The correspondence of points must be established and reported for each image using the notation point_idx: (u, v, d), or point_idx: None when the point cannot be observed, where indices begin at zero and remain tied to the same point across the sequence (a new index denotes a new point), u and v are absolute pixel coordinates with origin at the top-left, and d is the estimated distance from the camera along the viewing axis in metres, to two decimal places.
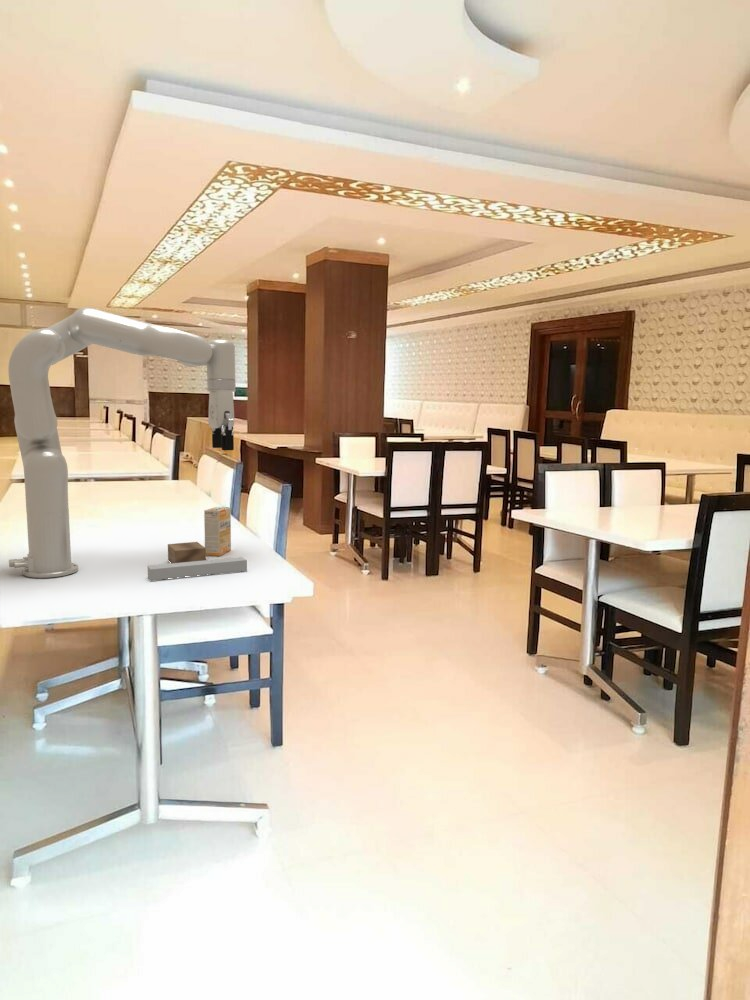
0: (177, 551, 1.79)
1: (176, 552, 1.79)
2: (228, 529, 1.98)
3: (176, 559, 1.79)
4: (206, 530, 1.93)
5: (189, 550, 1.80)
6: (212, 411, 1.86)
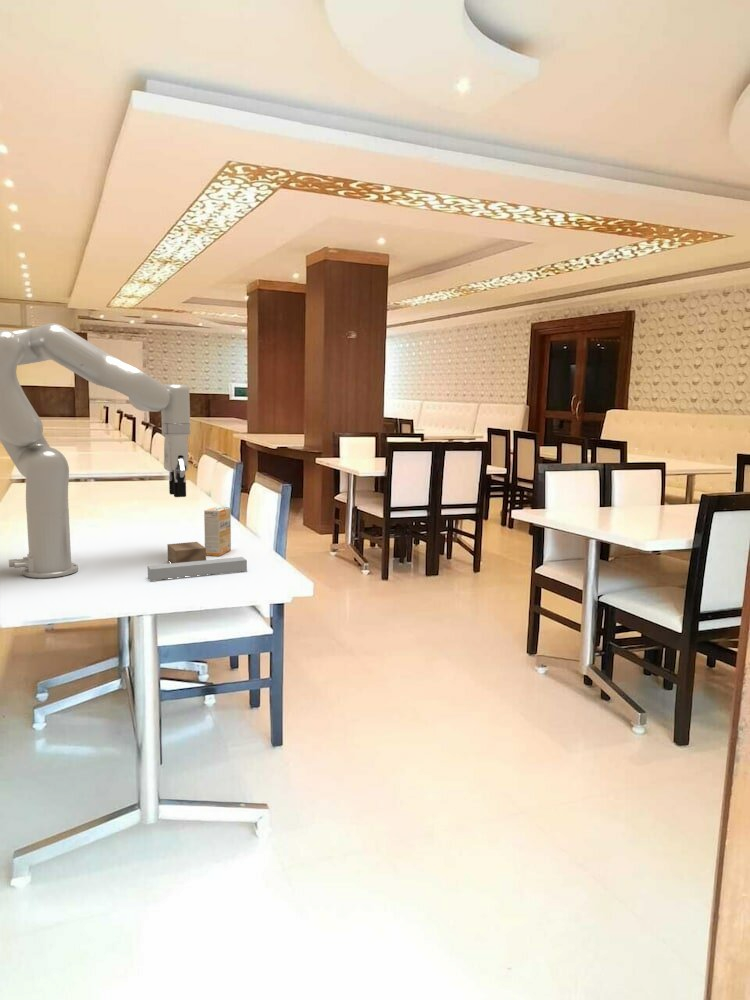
0: (177, 551, 1.79)
1: (176, 552, 1.79)
2: (228, 529, 1.98)
3: (176, 559, 1.79)
4: (206, 530, 1.93)
5: (189, 550, 1.80)
6: (166, 455, 1.87)
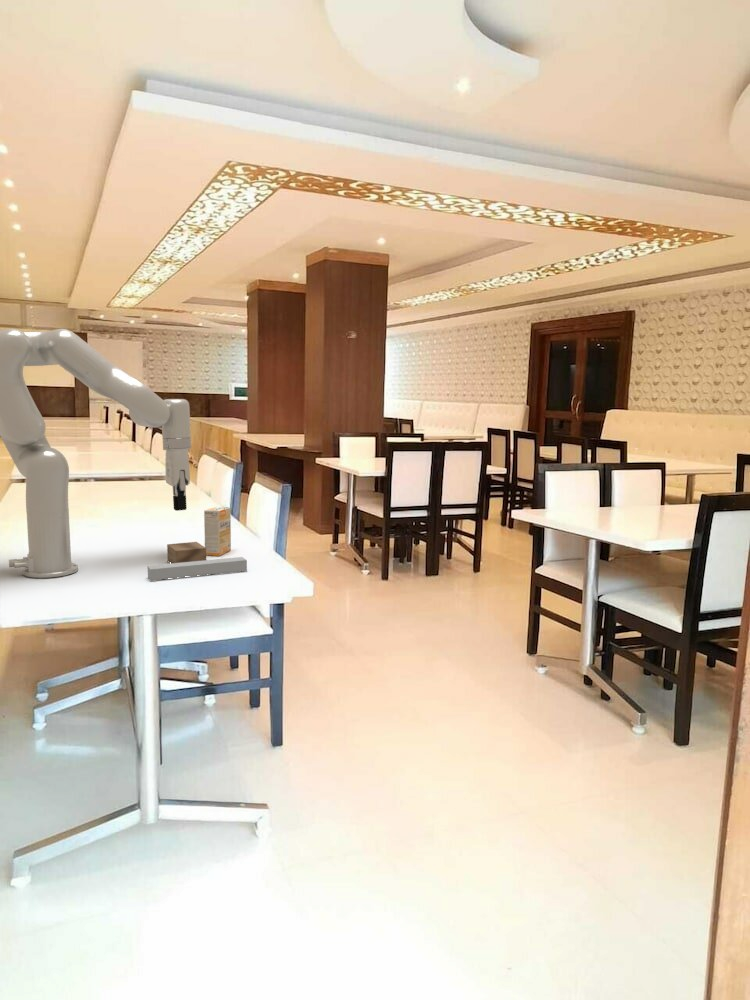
0: (178, 551, 1.79)
1: (177, 552, 1.79)
2: (228, 529, 1.98)
3: (177, 559, 1.79)
4: (206, 530, 1.93)
5: (190, 550, 1.80)
6: (168, 469, 1.88)
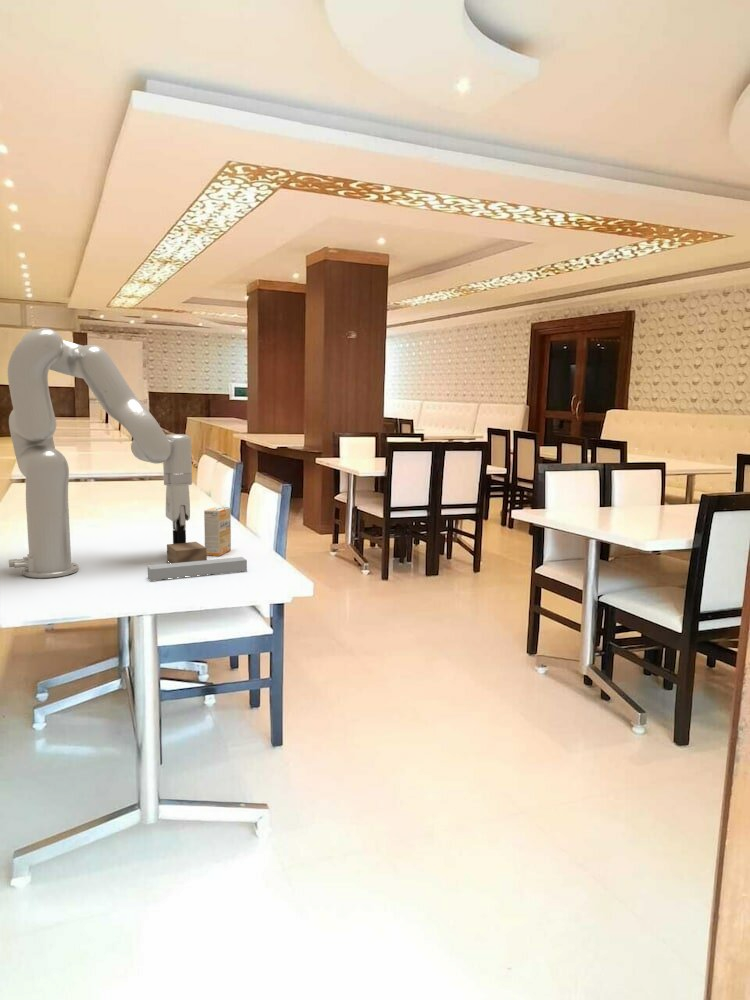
0: (178, 551, 1.79)
1: (177, 552, 1.79)
2: (228, 529, 1.98)
3: (177, 559, 1.79)
4: (206, 530, 1.93)
5: (190, 550, 1.80)
6: (168, 504, 1.88)
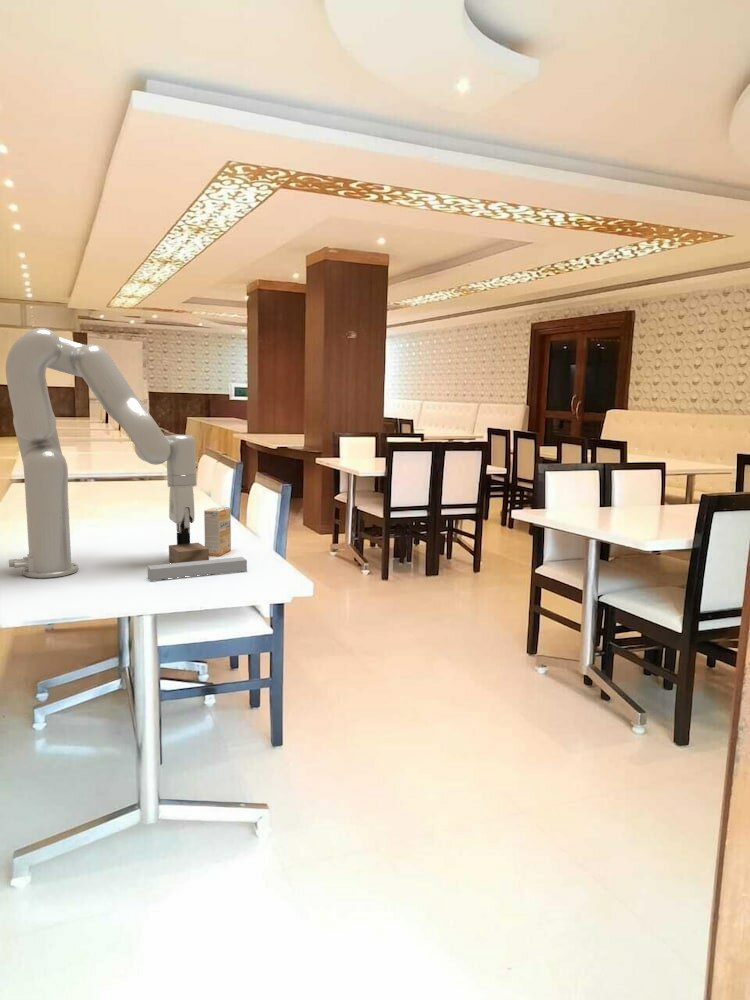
0: (180, 552, 1.77)
1: (179, 553, 1.77)
2: (228, 529, 1.98)
3: (179, 560, 1.77)
4: (206, 530, 1.93)
5: (192, 551, 1.79)
6: (172, 506, 1.84)
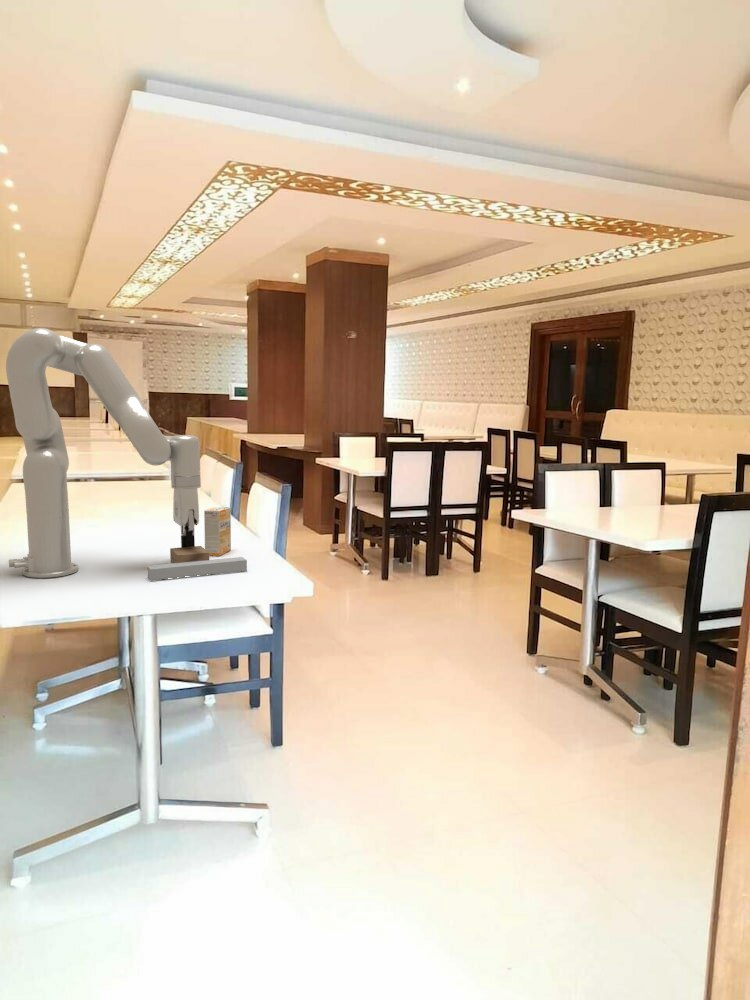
0: (180, 556, 1.73)
1: (179, 557, 1.73)
2: (228, 529, 1.98)
3: None
4: (206, 530, 1.93)
5: (192, 555, 1.74)
6: (176, 508, 1.81)
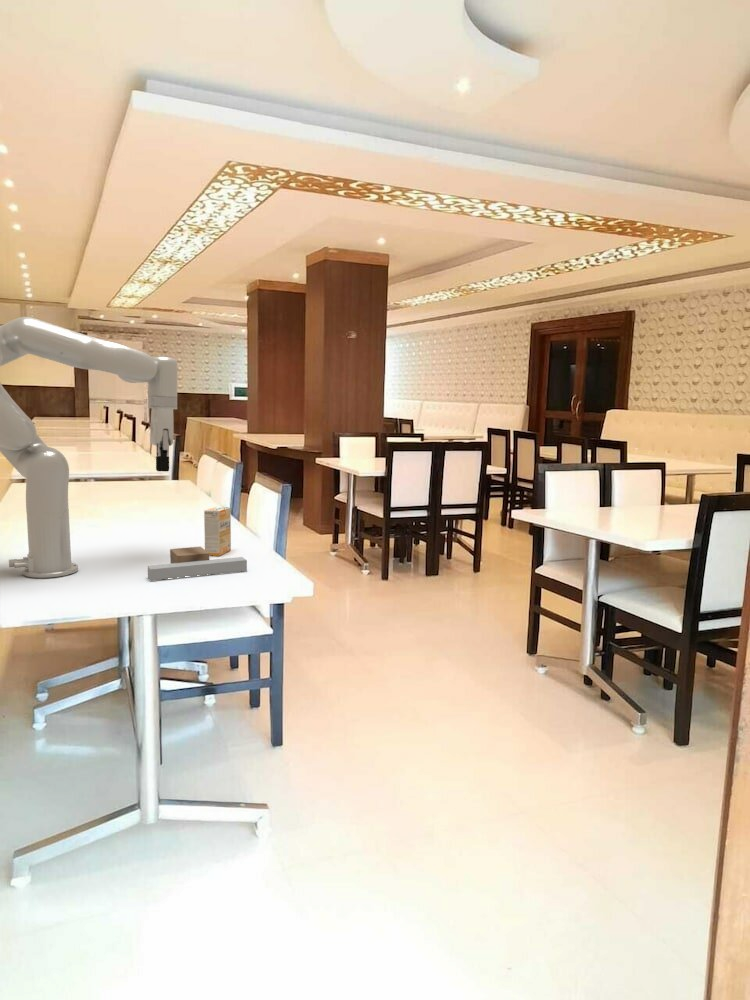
0: (180, 556, 1.73)
1: (179, 557, 1.73)
2: (228, 529, 1.98)
3: None
4: (206, 530, 1.93)
5: (192, 555, 1.74)
6: (152, 428, 1.84)
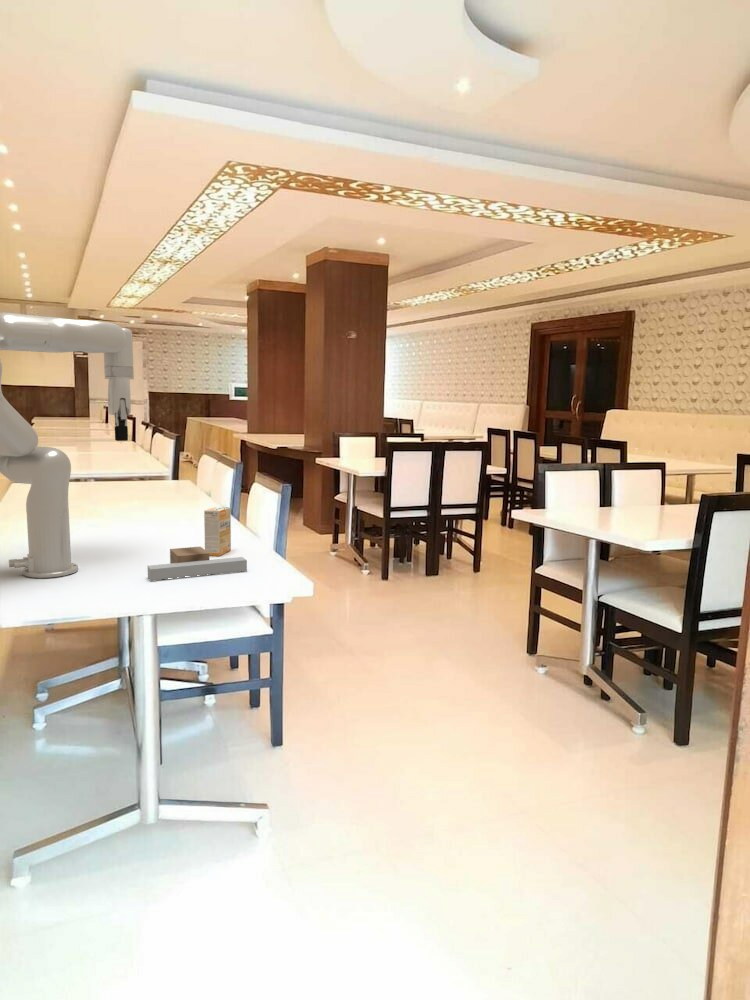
0: (180, 556, 1.73)
1: (179, 557, 1.73)
2: (228, 529, 1.98)
3: None
4: (206, 530, 1.93)
5: (192, 555, 1.74)
6: (109, 398, 1.87)
